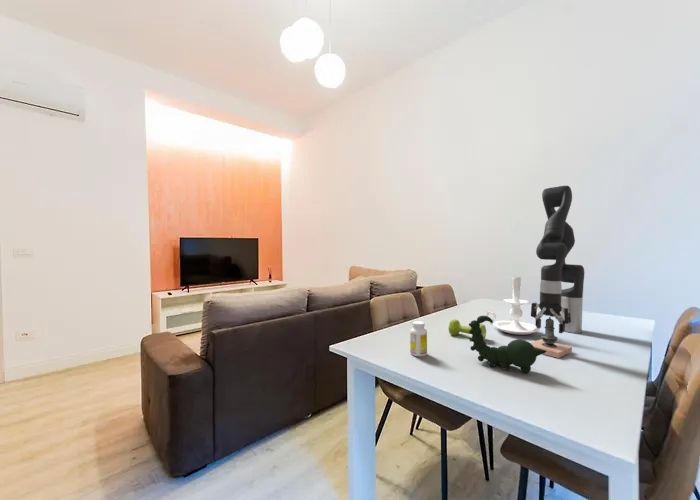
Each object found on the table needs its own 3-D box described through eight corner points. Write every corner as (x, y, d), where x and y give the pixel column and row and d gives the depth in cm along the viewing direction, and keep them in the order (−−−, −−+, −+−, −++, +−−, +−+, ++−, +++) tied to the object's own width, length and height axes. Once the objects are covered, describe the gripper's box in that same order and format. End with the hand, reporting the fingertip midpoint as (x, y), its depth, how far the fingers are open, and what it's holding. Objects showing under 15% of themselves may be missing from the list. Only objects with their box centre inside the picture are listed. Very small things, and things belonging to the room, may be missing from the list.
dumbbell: (446, 335, 154) (446, 320, 154) (454, 332, 160) (454, 317, 160) (481, 343, 143) (481, 327, 143) (487, 339, 149) (488, 323, 149)
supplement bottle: (427, 352, 132) (428, 321, 131) (426, 358, 125) (426, 325, 125) (411, 350, 134) (411, 319, 133) (408, 356, 128) (409, 324, 127)
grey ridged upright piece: (560, 348, 129) (560, 318, 129) (544, 347, 131) (544, 318, 130) (554, 343, 135) (554, 315, 135) (538, 342, 136) (539, 314, 136)
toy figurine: (468, 367, 120) (545, 381, 104) (464, 317, 120) (540, 322, 104) (477, 360, 127) (550, 371, 111) (473, 312, 128) (546, 316, 111)
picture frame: (541, 339, 141) (526, 344, 134) (572, 346, 131) (558, 352, 124) (540, 344, 141) (526, 349, 134) (571, 352, 131) (558, 358, 124)
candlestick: (491, 323, 176) (492, 272, 175) (543, 331, 160) (545, 275, 159) (478, 331, 161) (479, 275, 160) (534, 341, 145) (535, 279, 144)
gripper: (528, 289, 136) (527, 327, 136) (565, 294, 124) (564, 336, 124) (537, 288, 140) (536, 325, 140) (574, 292, 128) (573, 333, 129)
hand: (549, 330), depth 132 cm, fingers open, 8 cm apart
